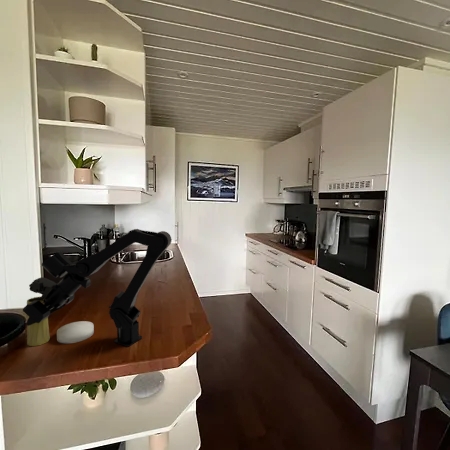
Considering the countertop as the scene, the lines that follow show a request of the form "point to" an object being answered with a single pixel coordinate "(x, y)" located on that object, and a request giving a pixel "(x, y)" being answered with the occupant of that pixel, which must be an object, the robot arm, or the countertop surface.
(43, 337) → the vase
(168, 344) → the countertop surface
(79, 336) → the plinth
